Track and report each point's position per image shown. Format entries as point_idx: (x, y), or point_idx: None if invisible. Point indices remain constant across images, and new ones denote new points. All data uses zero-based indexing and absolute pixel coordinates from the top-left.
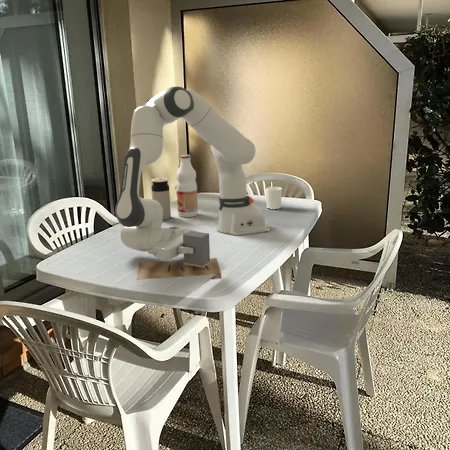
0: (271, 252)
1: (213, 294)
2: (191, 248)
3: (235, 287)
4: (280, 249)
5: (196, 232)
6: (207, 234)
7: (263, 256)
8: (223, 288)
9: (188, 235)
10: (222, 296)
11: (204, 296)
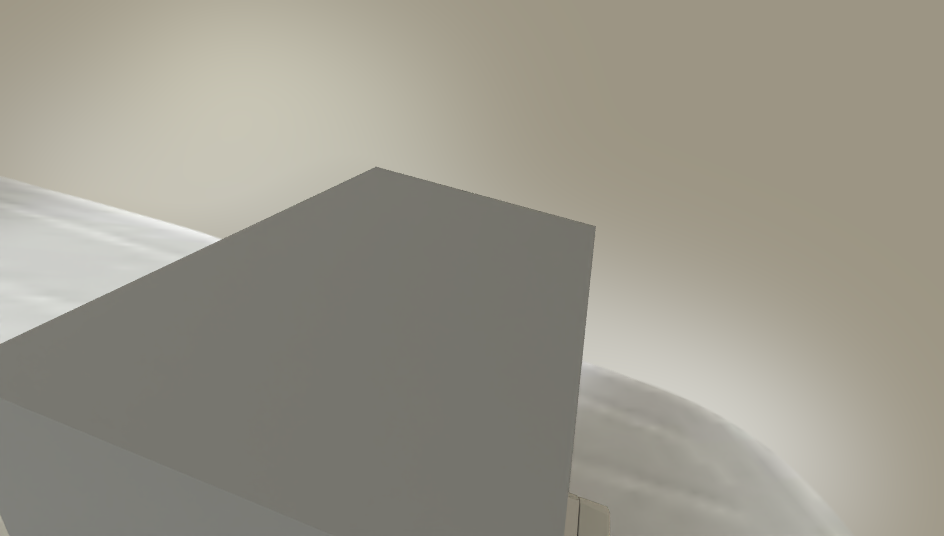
0: (81, 231)
1: (750, 474)
2: (608, 518)
3: (599, 378)
4: (55, 205)
5: (279, 256)
6: (421, 181)
7: (133, 259)
8: (642, 428)
9: (576, 392)
10: (736, 428)
11: (817, 524)
